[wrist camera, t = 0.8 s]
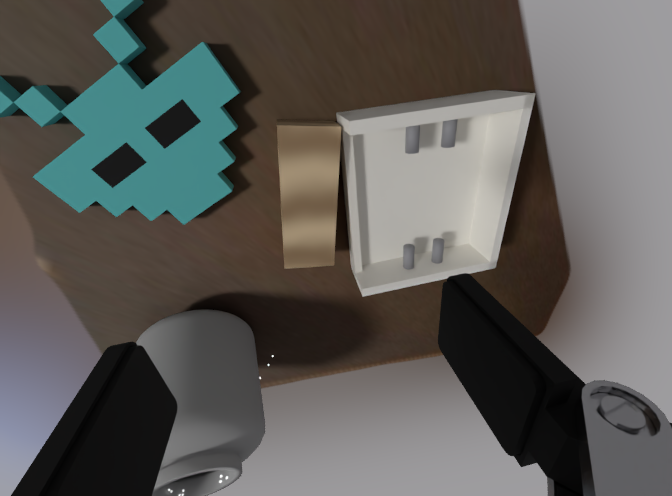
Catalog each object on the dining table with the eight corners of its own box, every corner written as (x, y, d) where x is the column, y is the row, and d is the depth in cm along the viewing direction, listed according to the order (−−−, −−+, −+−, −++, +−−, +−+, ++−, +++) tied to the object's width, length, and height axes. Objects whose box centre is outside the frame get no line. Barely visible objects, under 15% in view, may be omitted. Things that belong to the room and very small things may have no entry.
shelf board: (276, 119, 30) (277, 125, 27) (333, 120, 31) (341, 126, 28) (283, 251, 38) (284, 268, 35) (328, 248, 40) (333, 265, 36)
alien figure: (-64, 81, 24) (144, 247, 35) (-92, 82, 22) (137, 257, 33) (117, -84, 21) (282, 150, 32) (102, -99, 20) (283, 155, 30)
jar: (294, 344, 47) (313, 564, 26) (226, 389, 50) (193, 624, 29) (199, 274, 37) (109, 535, 16) (120, 334, 40) (-46, 630, 19)
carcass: (336, 112, 31) (349, 121, 26) (494, 89, 33) (535, 93, 28) (351, 269, 42) (362, 296, 36) (469, 245, 43) (495, 267, 38)
